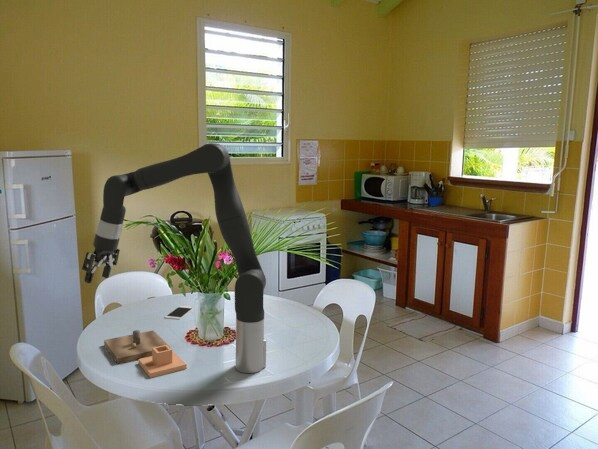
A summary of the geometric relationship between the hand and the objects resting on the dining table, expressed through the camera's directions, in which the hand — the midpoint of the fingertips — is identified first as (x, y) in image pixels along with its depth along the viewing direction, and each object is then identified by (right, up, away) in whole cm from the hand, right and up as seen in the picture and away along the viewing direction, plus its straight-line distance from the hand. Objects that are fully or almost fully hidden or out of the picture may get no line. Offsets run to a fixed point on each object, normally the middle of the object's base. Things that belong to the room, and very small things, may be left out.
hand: (96, 279), depth 157 cm
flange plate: (+22, -29, 0) cm, 36 cm away
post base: (+9, -26, +13) cm, 31 cm away
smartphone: (+15, -21, +51) cm, 57 cm away
